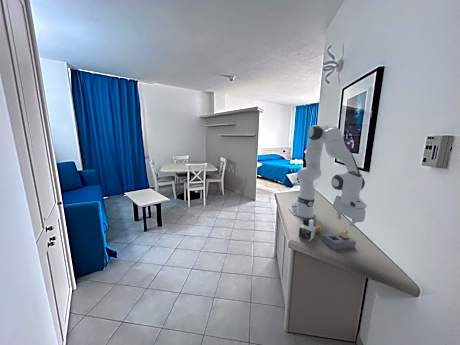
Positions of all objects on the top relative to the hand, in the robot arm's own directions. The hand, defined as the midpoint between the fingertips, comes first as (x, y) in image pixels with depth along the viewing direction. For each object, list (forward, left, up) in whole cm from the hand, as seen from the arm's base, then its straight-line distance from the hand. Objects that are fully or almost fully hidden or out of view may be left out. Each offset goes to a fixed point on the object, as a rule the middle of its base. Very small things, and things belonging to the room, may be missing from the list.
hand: (345, 222), depth 118 cm
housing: (+1, -3, -13) cm, 14 cm away
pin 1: (-13, -7, -13) cm, 20 cm away
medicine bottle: (-9, -17, -13) cm, 24 cm away
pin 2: (+1, +1, -13) cm, 13 cm away
